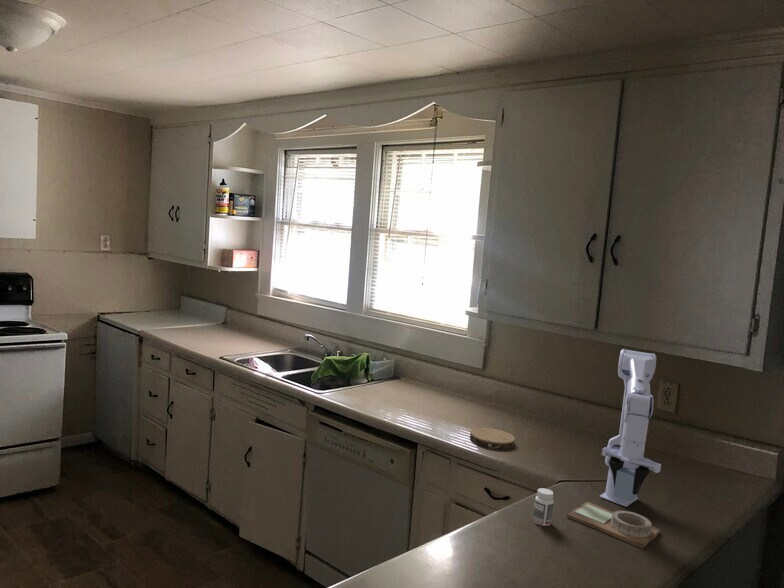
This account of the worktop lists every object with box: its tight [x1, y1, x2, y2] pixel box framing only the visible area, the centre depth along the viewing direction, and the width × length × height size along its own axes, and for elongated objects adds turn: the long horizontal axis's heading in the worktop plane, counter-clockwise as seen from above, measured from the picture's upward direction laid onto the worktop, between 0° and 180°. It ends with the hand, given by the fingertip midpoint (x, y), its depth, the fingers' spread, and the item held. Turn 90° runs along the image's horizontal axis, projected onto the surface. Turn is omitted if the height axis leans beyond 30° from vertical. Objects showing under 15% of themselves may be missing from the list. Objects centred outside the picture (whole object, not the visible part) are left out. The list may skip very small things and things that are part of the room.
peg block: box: [614, 467, 638, 502], centre depth 158 cm, size 4×4×7 cm
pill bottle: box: [532, 487, 555, 527], centre depth 158 cm, size 5×5×8 cm
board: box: [566, 501, 661, 549], centre depth 161 cm, size 13×20×4 cm, turn 48°
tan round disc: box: [469, 427, 516, 451], centre depth 219 cm, size 16×16×3 cm
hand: (626, 490), depth 158 cm, fingers closed on peg block, 4 cm apart
